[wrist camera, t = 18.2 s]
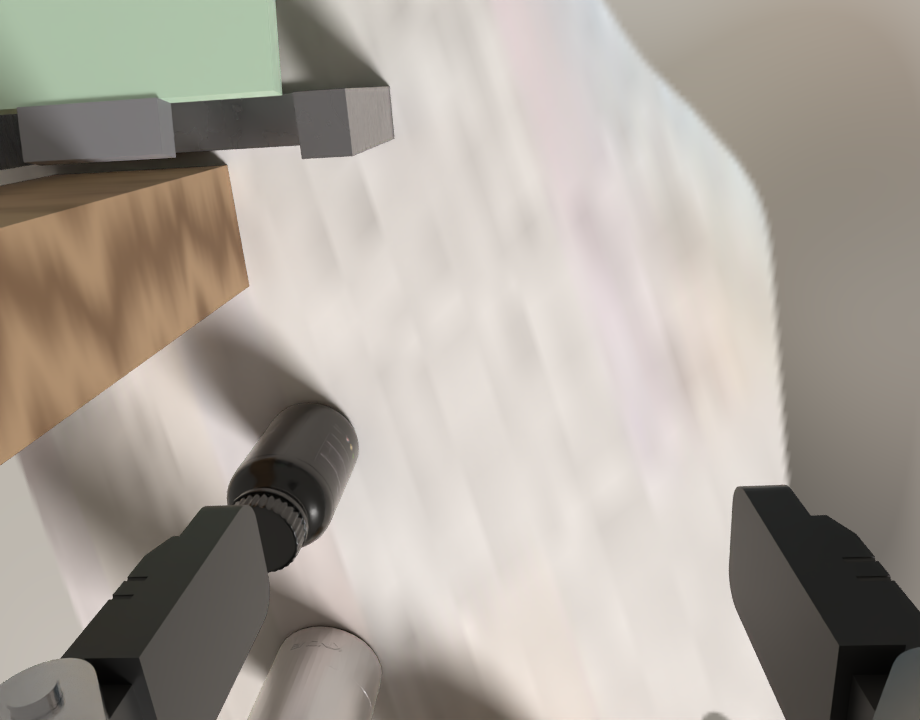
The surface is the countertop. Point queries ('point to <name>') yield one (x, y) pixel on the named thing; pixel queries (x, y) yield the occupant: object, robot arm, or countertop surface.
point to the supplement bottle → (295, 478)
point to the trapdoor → (126, 70)
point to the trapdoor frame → (265, 124)
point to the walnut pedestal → (104, 282)
